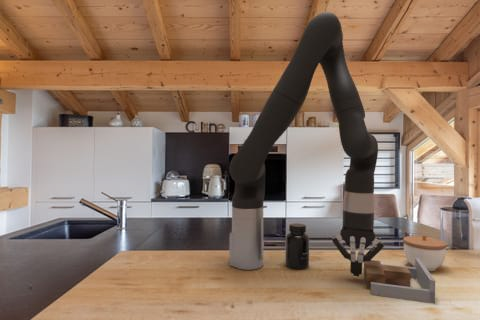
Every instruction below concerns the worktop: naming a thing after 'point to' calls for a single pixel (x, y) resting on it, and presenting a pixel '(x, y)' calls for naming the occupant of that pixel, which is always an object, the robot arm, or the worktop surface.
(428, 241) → the lidded jar
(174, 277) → the worktop surface
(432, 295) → the grey fence
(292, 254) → the supplement bottle
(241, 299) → the worktop surface
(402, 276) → the t block
